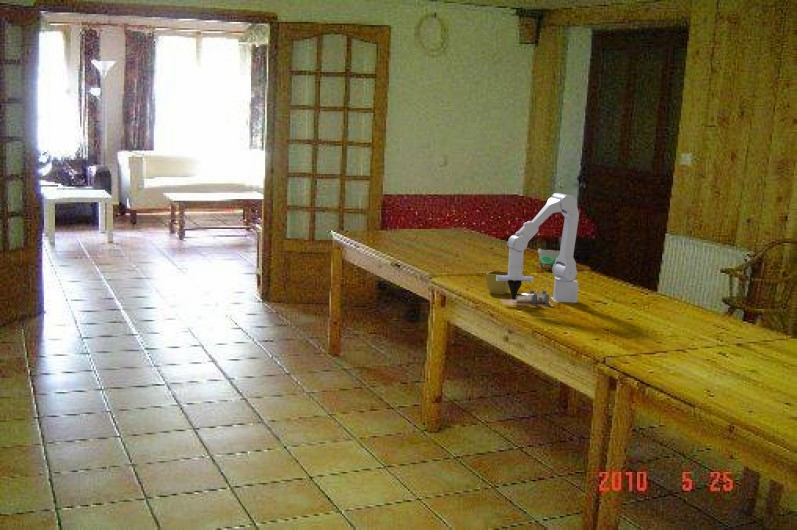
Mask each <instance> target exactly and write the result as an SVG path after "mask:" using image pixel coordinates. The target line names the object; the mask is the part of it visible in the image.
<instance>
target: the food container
mask: <svg viewBox="0 0 797 530" xmlns="http://www.w3.org/2000/svg"><path fill="white" fill-rule="evenodd" d="M537 253H538V257H539V258H538V260H539V261H538V264H539V266H538V267H540V268H542V269H548V270H552V268H553V265H554V264H555V261H556V258H557V257H558V256H559V255H560V250H553V249H543V248H538V249H537ZM540 268H539V269H540ZM542 269H541V270H542Z"/></svg>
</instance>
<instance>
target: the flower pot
mask: <svg viewBox="0 0 797 530" xmlns="http://www.w3.org/2000/svg"><path fill="white" fill-rule="evenodd" d="M496 275H508V271H502V270H491V271H488V272H487V273H486V275H485V276H486V277H485V278H486V285H487V290H488V292H489V293H490V294H494V295H502V296H503V295H504V294H507V293H508V291H509V290H510V288H509V285H508V282H507V281H496ZM510 280H511V279H510Z"/></svg>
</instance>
